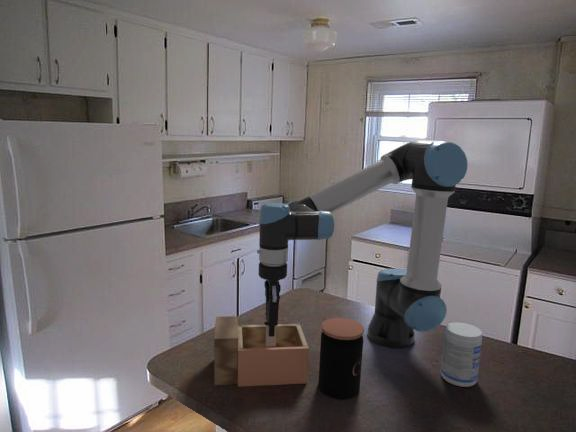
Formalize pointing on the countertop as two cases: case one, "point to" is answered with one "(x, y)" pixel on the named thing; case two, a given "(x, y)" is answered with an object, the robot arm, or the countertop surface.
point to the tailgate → (272, 366)
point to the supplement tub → (461, 354)
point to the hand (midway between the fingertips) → (270, 344)
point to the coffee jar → (340, 358)
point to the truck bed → (246, 344)
